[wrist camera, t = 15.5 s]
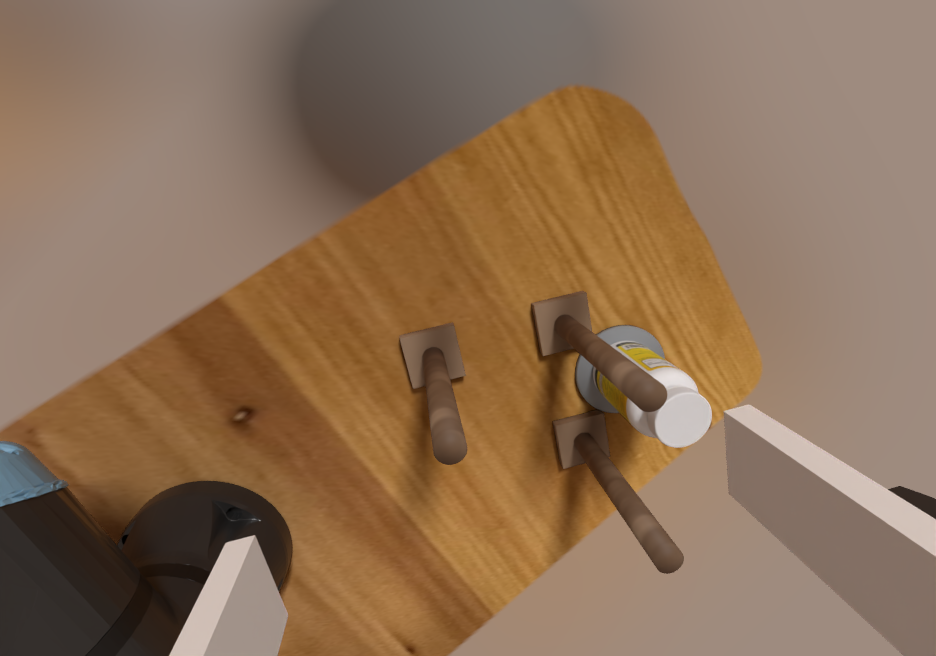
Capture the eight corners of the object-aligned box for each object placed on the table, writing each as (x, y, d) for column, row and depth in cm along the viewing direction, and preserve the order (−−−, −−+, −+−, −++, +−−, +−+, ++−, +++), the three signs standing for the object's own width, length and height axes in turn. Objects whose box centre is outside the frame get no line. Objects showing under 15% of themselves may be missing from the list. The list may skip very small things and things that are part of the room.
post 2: (560, 463, 50) (638, 599, 34) (552, 421, 49) (630, 541, 32) (606, 451, 51) (706, 580, 34) (599, 409, 49) (701, 521, 32)
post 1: (412, 384, 46) (418, 496, 29) (399, 335, 44) (397, 422, 28) (464, 371, 46) (499, 474, 29) (452, 322, 45) (483, 401, 28)
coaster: (582, 420, 49) (584, 422, 49) (568, 337, 47) (570, 339, 46) (665, 398, 50) (668, 400, 49) (657, 315, 47) (660, 316, 47)
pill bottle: (607, 409, 49) (663, 471, 38) (580, 360, 47) (631, 411, 36) (661, 377, 48) (732, 430, 38) (636, 326, 46) (704, 368, 36)
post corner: (540, 352, 47) (617, 443, 30) (531, 303, 45) (607, 369, 28) (589, 340, 47) (693, 422, 30) (582, 290, 45) (687, 348, 29)
